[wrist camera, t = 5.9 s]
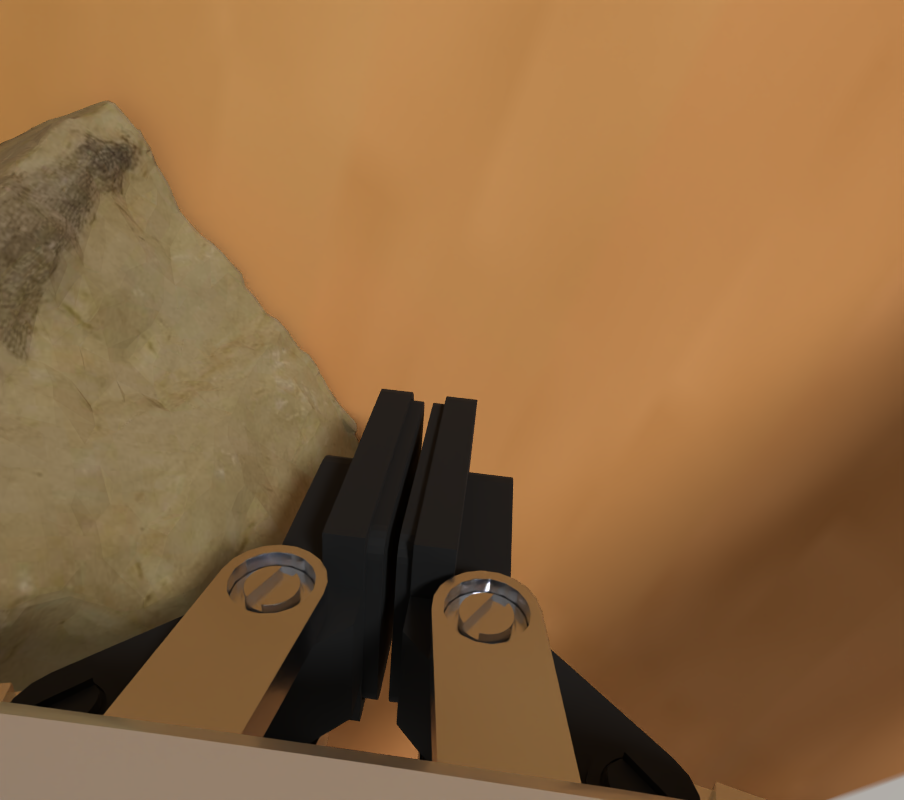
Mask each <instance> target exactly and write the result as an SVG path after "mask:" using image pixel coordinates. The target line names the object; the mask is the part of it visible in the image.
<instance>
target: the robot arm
mask: <svg viewBox="0 0 904 800" xmlns="http://www.w3.org/2000/svg"><path fill="white" fill-rule="evenodd" d="M476 407H477V400H473V399H465V398H456V397H448V396H447V397H446V401H445V404H438V403H433V407H432V411H431V414H430V418H429V422H428V426H427V430H426V434H425V438H424V442H423V446H422V433H423V419H424V402H421V401H414V394H413V392H405V391H397V390H388V389H382V390H381V392H380V394H379V396H378V399H377V401H376V404H375V406H374V409H373V411H372V413H371V416H370V418H369V421H368V423H367V426H366V428H365V430H364V433H363V435H362V438H361V440H360V443H359V445H358V447H357V450H356V452H355V455H354V457H353V458H348V457H340V456H332V455H327V456H325V457H324V459H323V460H322V462H321V464H320V467H319V469H318V471H317V473H316V475H315V477H314V479H313V481H312V483H311V485H310V487H309V489H308V491H307V493H306V496H305V498H304V500H303V502H302V504H301V506H300V508H299V510H298V512H297V514H296V516H295V518H294V520H293V522H292V524H291V527H290V529H289V531H288V533H287V535H286V537H285V539H284V541H283V543H282V545H271V546H262V547H259V548H255V549H252V550H248V551H246V552H244V553H242V554H241V555H239V556H237V557H235V558H233V559H232V560H231V561H230V562H229V563H228V564H227V565H226V566H224V567H223V568H222V569H221V571H220V572H219V573H218V574H217V576H216V577H215V578H214V579H213V581H212V582H211V583H210V584H209V585H208V587H207V588H206V589H205V590H204V592H203V593H202V594H201V595H200V597H199V598H198V599H197V600H196V601H195V603H194V604H193V605H192V606H191V608H190V609H189V610H188V611H187V613H186V614H185V615H183V616H181V617H179V618H176V619H174V620H172V621H169V622H167V623H165V624H162V625H160V626H158V627H155V628H153V629H151V630H149V631H146V632H144V633H142V634H139V635H137V636H135V637H132V638H130V639H128V640H125V641H123V642H121V643H118V644H116V645H114V646H111V647H109V648H107V649H105V650H102V651H100V652H98V653H95V654H93V655H91V656H88V657H86V658H84V659H81V660H79V661H77V662H74V663H72V664H70V665H67V666H65V667H63V668H60V669H58V670H56V671H54V672H51V673H49V674H48V675H46V676H44V677H42V678H40V679H38V680H37V681H35V682H33V683H31V684H30V685H29V686H28V687H26V688H25V689H24V690H23V691H19V692H15V691H14V688H13V685H12V682H11V683H0V800H767V799H764V798H761V797H758V796H755V795H752V794H750V793H747V792H744V791H741V790H738V789H736V788H733V787H730V786H727V785H724V784H721V783H719V782H715V785H714V787H713V789H712V790H710V789H707V788H704V787H702V786H699V785H696V784H693V782H692V780H691V779H690V777H689V775H688V774H687V773H686V772H685V771H684V770H683V769H682V767H681V766H680V765H679V764H678V763H677V762H676V761H675V760H674V759H673V758H672V757H671V756H670V755H669V754H668V753H667V752H665V751H664V750H663V749H662V748H661V747H660V746H659V745H658V744H656V743H655V742H654V741H653V740H652V739H651V738H650V737H649V736H647V735H646V734H645V733H644V732H643V731H642V730H641V729H640V728H638V727H637V726H636V725H635V724H634V723H633V722H632V721H631V720H629V719H628V718H627V717H626V716H625V715H624V714H623V713H622V712H621V711H619V710H618V709H617V708H616V707H615V706H614V705H613V704H612V703H610V702H609V701H608V700H607V699H606V698H605V697H604V696H603V695H601V694H600V693H599V692H598V691H597V690H596V689H595V688H594V687H592V686H591V685H590V684H589V683H588V682H587V681H586V680H585V679H583V678H582V677H581V676H580V675H579V674H578V673H577V672H576V671H574V670H573V669H572V668H571V667H570V666H569V665H568V664H567V663H566V662H564V661H563V660H562V659H561V658H560V657H559V656H558V655H557V654H555V653H554V652H553V651H552V650H551V648H550V644H549V639H548V635H547V631H546V626H545V622H544V617H543V613H542V609H541V607H540V605H539V603H538V600H537V598H536V597H535V596H534V595H533V593H532V592H531V591H530V590H529V589H528V588H527V587H526V586H524V585H523V584H521V583H520V582H518V581H517V580H515V579H514V578H511V543H512V505H513V478H511V477H503V476H495V475H487V474H479V473H471V472H469V469H470V460H471V451H472V442H473V434H474V425H475V416H476ZM421 447H422V450H421ZM391 641H392V653H391V670H390V688H389V701H390V702H398V710H397V725H398V726H399V728H400V729H401V730H402V731H403V733H404V734H405V735H406V736H407V738H408V739H409V740H410V741H411V743H412V744H413V745H414V746H415V748H416V749H417V750H418V759H412V758H405V757H398V756H391V755H384V754H377V753H370V752H363V751H356V750H349V749H342V748H335V747H328V746H327V743H328V732H329V731H331V730H333V729H334V728H336V727H337V726H339V725H341V724H342V723H344V722H346V721H347V720H355V721H360V719H361V715H362V711H363V706H364V702H365V698H369V699H376V700H378V698H379V695H380V691H381V686H382V682H383V677H384V673H385V668H386V664H387V659H388V655H389V650H390V646H391Z"/></svg>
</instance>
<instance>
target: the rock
mask: <svg viewBox="0 0 904 800" xmlns="http://www.w3.org/2000/svg"><path fill="white" fill-rule="evenodd" d="M356 431H357V426H356V423H355V421H354V420H353V419H352V418H351V417H350V416H349V414H348V413H347V412H346V411H345V410H344V409H343V408H342V407H341V406H340V405H339V403H338V402H337V400H336V399H335V397H334V396H333V394H332V393H331V391H330V390H329V388H328V387H327V384H326V382H325V380H324V379H323V377H322V376H321V375H320V372H319V369H318V367H317V366H316V364H315V363H314V361H313V360H312V359H311V357H310V356H309V354H307V353H305V352H304V351H302V350H301V349H300V348H299V347H298V345H297V344H296V343H295V341H294V340H293V338H292V337H291V336H290V334H289V332H288V331H287V330H286V329H285V327H284V326H283V325H282V324H281V323H280V322H279V321H278V320H277V319H276V318H274V317H272V316H270V315H269V314H267V313H266V312H265V311H264V309H263V308H262V306H261V305H260V303H259V302H258V300H257V299H256V298H255V297H254V295H253V294H252V293H251V292H250V291H249V290H248V289H247V288H246V287H245V284H244V280H243V277H242V274H241V273H240V271H239V270H238V269H237V268H236V267H235V266H234V265H233V264H232V263H231V262H230V261H229V260H228V259H227V257H226V256H225V255H224V254H223V253H222V252H221V251H220V250H219V249H218V248H217V247H216V246H215V245H214V244H213V243H212V242H210V241H209V240H207V239H206V238H204V237H203V236H201V235H200V234H199V233H198V231H197V230H196V229H195V228H194V227H193V226H192V225H191V224H190V223H189V222H188V220H187V219H186V218H185V217H184V216H183V215H182V213H181V212H180V210H179V208H178V206H177V203H176V201H175V199H174V196H173V194H172V191H171V189H170V186H169V184H168V182H167V180H166V179H165V177H164V176H163V174H162V172H161V171H160V169H159V168H158V166H157V164H156V162H155V159H154V156H153V154H152V151H151V148H150V146H149V145H148V143H147V142H146V141H145V139H144V137H143V135H142V133H141V131H140V130H138V129H136V128H135V127H134V125H133V124H132V123H131V122H130V121H129V119H128V118H127V117H126V116H125V115H124V113H123V112H122V111H121V110H120V109H119V108H118V107H117V106H116V104H115V103H112V102H110V101H103V102H100V103H97V104H94V105H91V106H89V107H86V108H83V109H81V110H78V111H76V112H73V113H71V114H68V115H65V116H62V117H58V118H55V119H51V120H48V121H46V122H44V123H42V124H40V125H37V126H35V127H33V128H31V129H30V130H28V131H27V132H25V133H23V134H21V135H19V136H17V137H15V138H13V139H10V140H8V141H5V142H3V143H1V144H0V683H11V682H12V685H13V688H14V691H15V692H19V691H23V690H24V689H25V688H26V687H28V686H29V685H30V684H31V683H33V682H35V681H37V680H38V679H40V678H42V677H44V676H46V675H48V674H49V673H51V672H54V671H56V670H58V669H60V668H63V667H65V666H67V665H70V664H72V663H74V662H77V661H79V660H81V659H84V658H86V657H88V656H91V655H93V654H95V653H98V652H100V651H102V650H105V649H107V648H109V647H111V646H114V645H116V644H118V643H121V642H123V641H125V640H128V639H130V638H132V637H135V636H137V635H139V634H142V633H144V632H146V631H149V630H151V629H153V628H155V627H158V626H160V625H162V624H165V623H167V622H169V621H172V620H174V619H176V618H179V617H181V616H183V615H185V614H186V613H187V611H188V610H189V609H190V608H191V606H192V605H193V604H194V603H195V601H196V600H197V599H198V598H199V597H200V595H201V594H202V593H203V592H204V590H205V589H206V588H207V587H208V585H209V584H210V583H211V582H212V581H213V579H214V578H215V577H216V576H217V574H218V573H219V572H220V571H221V569H222V568H223V567H224V566H226V565H227V564H228V563H229V562H230V561H231V560H232V559H233V558H235V557H237V556H239V555H241V554H242V553H244V552H246V551H248V550H252V549H255V548H259V547H262V546H271V545H282V543H283V541H284V539H285V537H286V535H287V533H288V531H289V529H290V527H291V524H292V522H293V520H294V518H295V516H296V514H297V512H298V510H299V508H300V506H301V504H302V502H303V500H304V498H305V496H306V493H307V491H308V489H309V487H310V485H311V483H312V481H313V479H314V477H315V475H316V473H317V471H318V469H319V467H320V464H321V462H322V460H323V459H324V457H325V456H327V455H332V456H340V457H348V458H353V457H354V455H355V452H356V450H357V447H358V445H359V443H358V440H357V438H356V436H355V432H356Z"/></svg>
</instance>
